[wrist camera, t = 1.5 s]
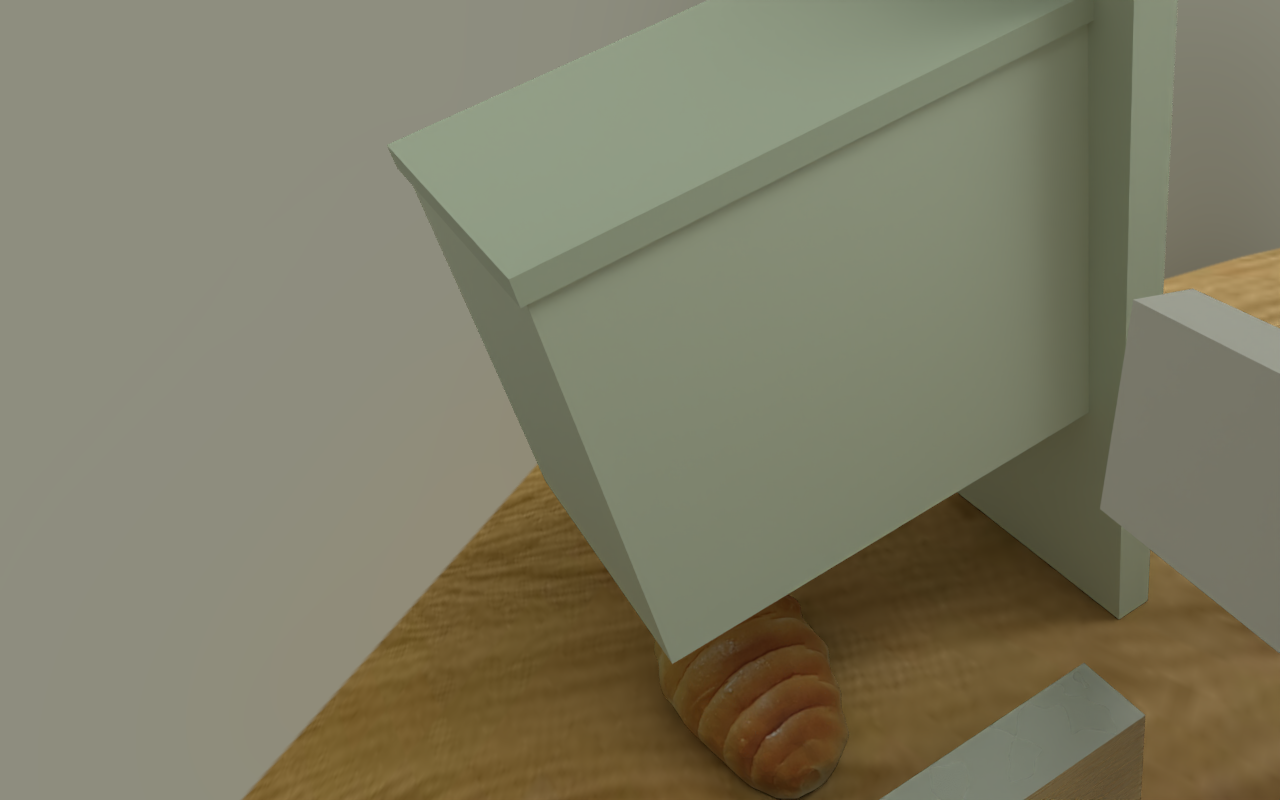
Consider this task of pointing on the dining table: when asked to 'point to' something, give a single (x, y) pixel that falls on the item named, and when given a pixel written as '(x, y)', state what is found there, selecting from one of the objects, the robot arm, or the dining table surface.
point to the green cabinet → (818, 281)
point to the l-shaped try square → (1046, 750)
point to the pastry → (763, 700)
